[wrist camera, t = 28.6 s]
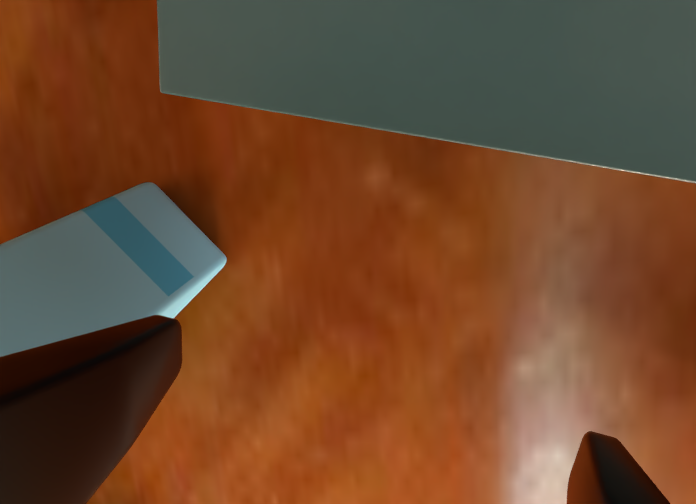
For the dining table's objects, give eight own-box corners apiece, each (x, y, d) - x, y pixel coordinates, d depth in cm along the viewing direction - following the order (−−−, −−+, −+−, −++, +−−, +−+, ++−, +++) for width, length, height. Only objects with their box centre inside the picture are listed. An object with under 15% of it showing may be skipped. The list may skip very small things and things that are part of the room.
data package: (165, 170, 24) (-130, 296, 14) (241, 248, 24) (11, 431, 14) (45, 323, 30) (-231, 497, 19) (108, 385, 30) (-128, 590, 19)
